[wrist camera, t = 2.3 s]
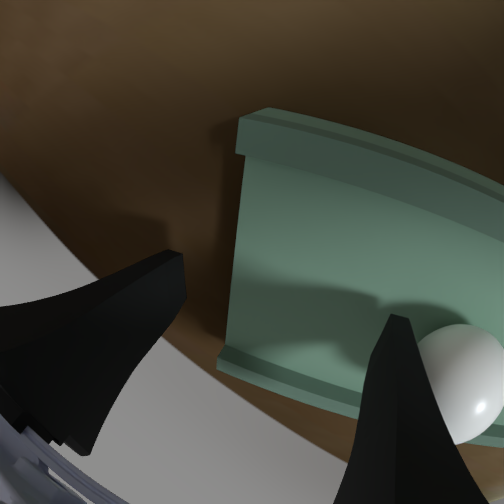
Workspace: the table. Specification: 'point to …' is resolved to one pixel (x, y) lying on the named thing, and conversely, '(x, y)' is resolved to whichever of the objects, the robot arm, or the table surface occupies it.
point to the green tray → (353, 256)
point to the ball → (465, 377)
